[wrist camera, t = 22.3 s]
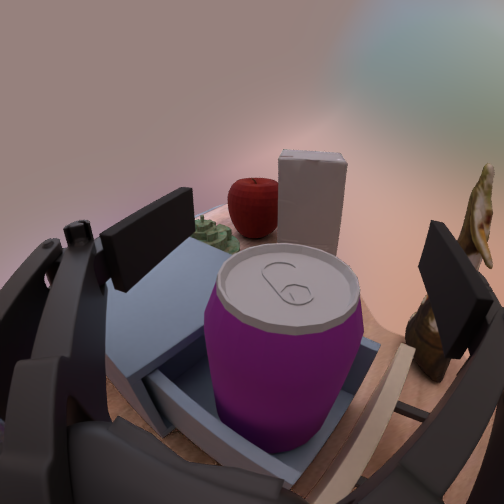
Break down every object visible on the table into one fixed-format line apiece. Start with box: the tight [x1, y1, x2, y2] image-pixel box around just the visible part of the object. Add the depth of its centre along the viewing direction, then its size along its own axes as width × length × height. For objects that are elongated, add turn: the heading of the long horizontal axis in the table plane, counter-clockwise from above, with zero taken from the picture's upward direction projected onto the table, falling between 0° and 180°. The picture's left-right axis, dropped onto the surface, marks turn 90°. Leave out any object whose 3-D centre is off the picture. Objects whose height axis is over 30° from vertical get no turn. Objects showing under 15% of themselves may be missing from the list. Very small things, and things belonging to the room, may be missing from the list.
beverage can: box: [204, 243, 364, 453], centre depth 15 cm, size 8×8×12 cm
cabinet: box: [105, 237, 232, 438], centre depth 24 cm, size 17×14×9 cm
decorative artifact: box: [190, 215, 240, 255], centre depth 38 cm, size 10×7×10 cm
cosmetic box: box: [277, 149, 348, 256], centre depth 36 cm, size 8×7×16 cm
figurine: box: [405, 163, 494, 382], centre depth 18 cm, size 5×8×20 cm, turn 8°
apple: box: [228, 178, 278, 238], centre depth 46 cm, size 10×10×10 cm
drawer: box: [141, 334, 430, 504], centre depth 15 cm, size 20×12×7 cm, turn 52°
